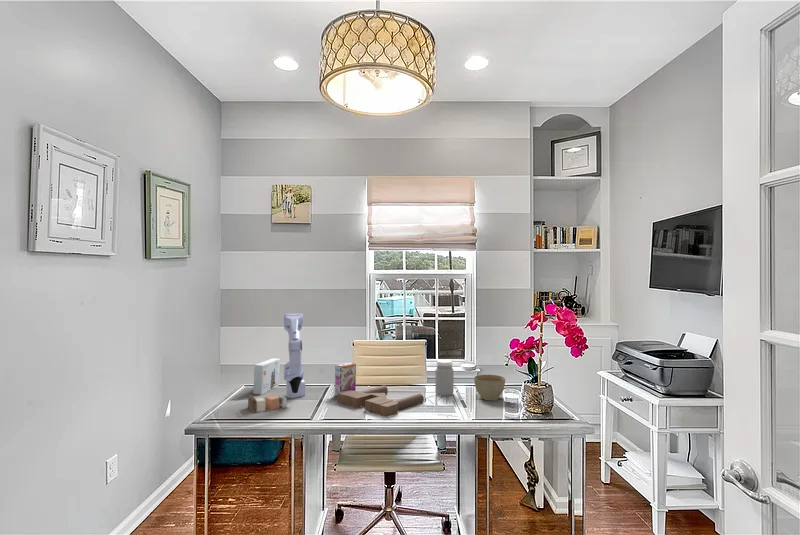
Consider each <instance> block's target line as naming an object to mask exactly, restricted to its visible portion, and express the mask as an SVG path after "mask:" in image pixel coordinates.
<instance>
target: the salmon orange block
mask: <svg viewBox="0 0 800 535" xmlns="http://www.w3.org/2000/svg"><path fill="white" fill-rule="evenodd" d="M264 400H265V409H267V410H268V409H269V410H271V411H273V410H276V409H280V405H279V397H277V396H275V395H269V396H266V397H264Z"/></svg>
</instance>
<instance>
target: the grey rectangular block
mask: <svg viewBox="0 0 800 535" xmlns="http://www.w3.org/2000/svg"><path fill="white" fill-rule="evenodd" d="M278 398H279V407H280V408H282V409H284V408H287V406H288V397H286V395H284V394H283V395H278Z"/></svg>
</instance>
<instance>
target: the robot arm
mask: <svg viewBox="0 0 800 535" xmlns="http://www.w3.org/2000/svg"><path fill="white" fill-rule="evenodd" d="M303 316H304V315H303V313H301V312H300V313H284V314H283V329H284V330H285V332H286V331H287V333H288V343H287V344H288V346H287V347H288V360H289V361H288V362H286V363H285V364H284V365H283V380H284V381H285V382H286V383H285V384H286V387H285V388H286V390H285V394H286V395H285V397H286V398H287V399H288V398H289V399H294V398H295V399H296V398H300V397H306V382H305V380H304V374H305V373H304V372H305V371H304V366H303V364H302V352H303V341H302V338H301V332H300V331H301V330H302V328H303V322H304V320H303V318H304V317H303Z"/></svg>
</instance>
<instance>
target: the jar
mask: <svg viewBox="0 0 800 535" xmlns="http://www.w3.org/2000/svg"><path fill="white" fill-rule="evenodd" d="M454 372H455V371H454V369H453V360H450V359H438V360H436V368H435V390H434V391H435V394H436V395H437V394H438V395H441V396H440V397H450V395H451V396H452V395H453V394H454V391H455V390H454V387H455V385H454V384H455V383H454V382H455V381H454V376H455V374H454ZM438 395H437V396H438Z"/></svg>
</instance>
